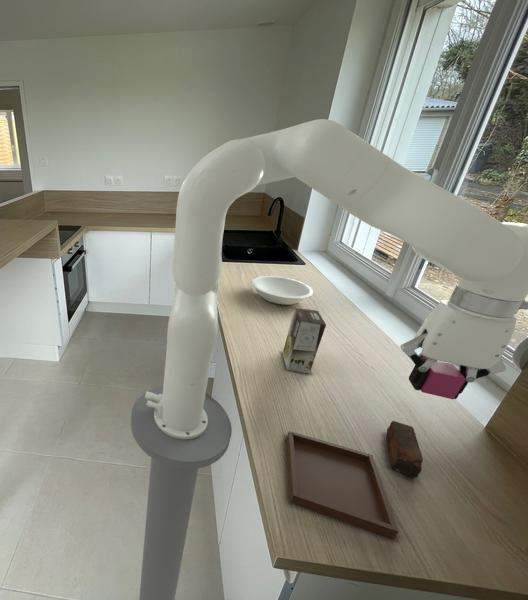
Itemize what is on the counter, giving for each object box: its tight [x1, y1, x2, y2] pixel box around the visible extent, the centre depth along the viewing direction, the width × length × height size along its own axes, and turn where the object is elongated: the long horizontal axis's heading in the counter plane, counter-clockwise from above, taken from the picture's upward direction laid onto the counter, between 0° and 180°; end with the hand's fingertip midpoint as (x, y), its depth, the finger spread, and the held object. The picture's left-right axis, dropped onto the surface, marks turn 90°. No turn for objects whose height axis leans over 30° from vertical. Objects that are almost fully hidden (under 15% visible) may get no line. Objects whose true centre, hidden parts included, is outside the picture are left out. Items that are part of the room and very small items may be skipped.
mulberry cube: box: [420, 361, 466, 400], centre depth 59 cm, size 5×5×5 cm
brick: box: [386, 420, 424, 479], centre depth 66 cm, size 11×4×5 cm, turn 150°
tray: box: [286, 430, 399, 540], centre depth 61 cm, size 16×16×2 cm
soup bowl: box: [250, 274, 314, 306], centre depth 135 cm, size 24×24×7 cm
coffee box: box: [282, 307, 327, 374], centre depth 93 cm, size 9×6×16 cm
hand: (431, 388), depth 59 cm, fingers closed on mulberry cube, 4 cm apart
